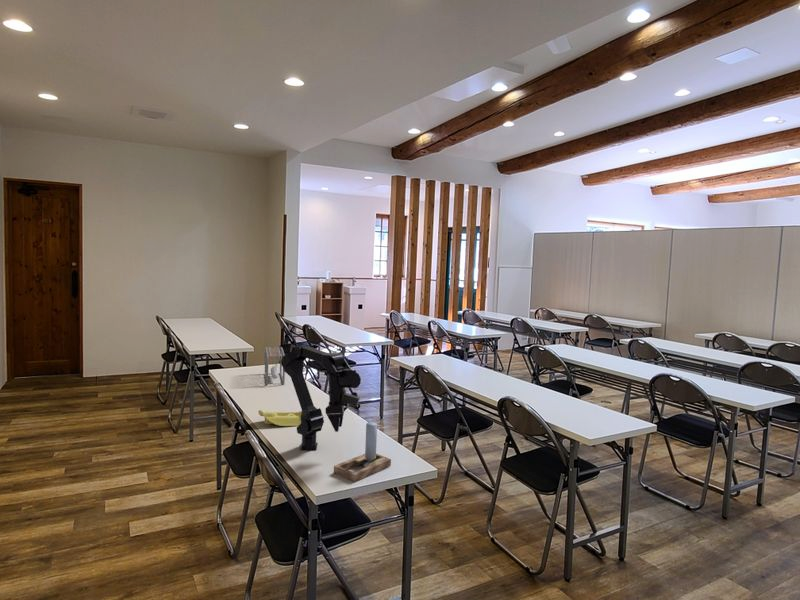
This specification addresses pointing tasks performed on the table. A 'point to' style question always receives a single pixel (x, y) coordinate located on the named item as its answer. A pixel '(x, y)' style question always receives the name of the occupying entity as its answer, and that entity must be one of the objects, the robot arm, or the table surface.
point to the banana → (282, 418)
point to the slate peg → (370, 442)
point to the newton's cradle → (274, 369)
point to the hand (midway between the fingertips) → (338, 429)
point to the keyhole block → (371, 468)
